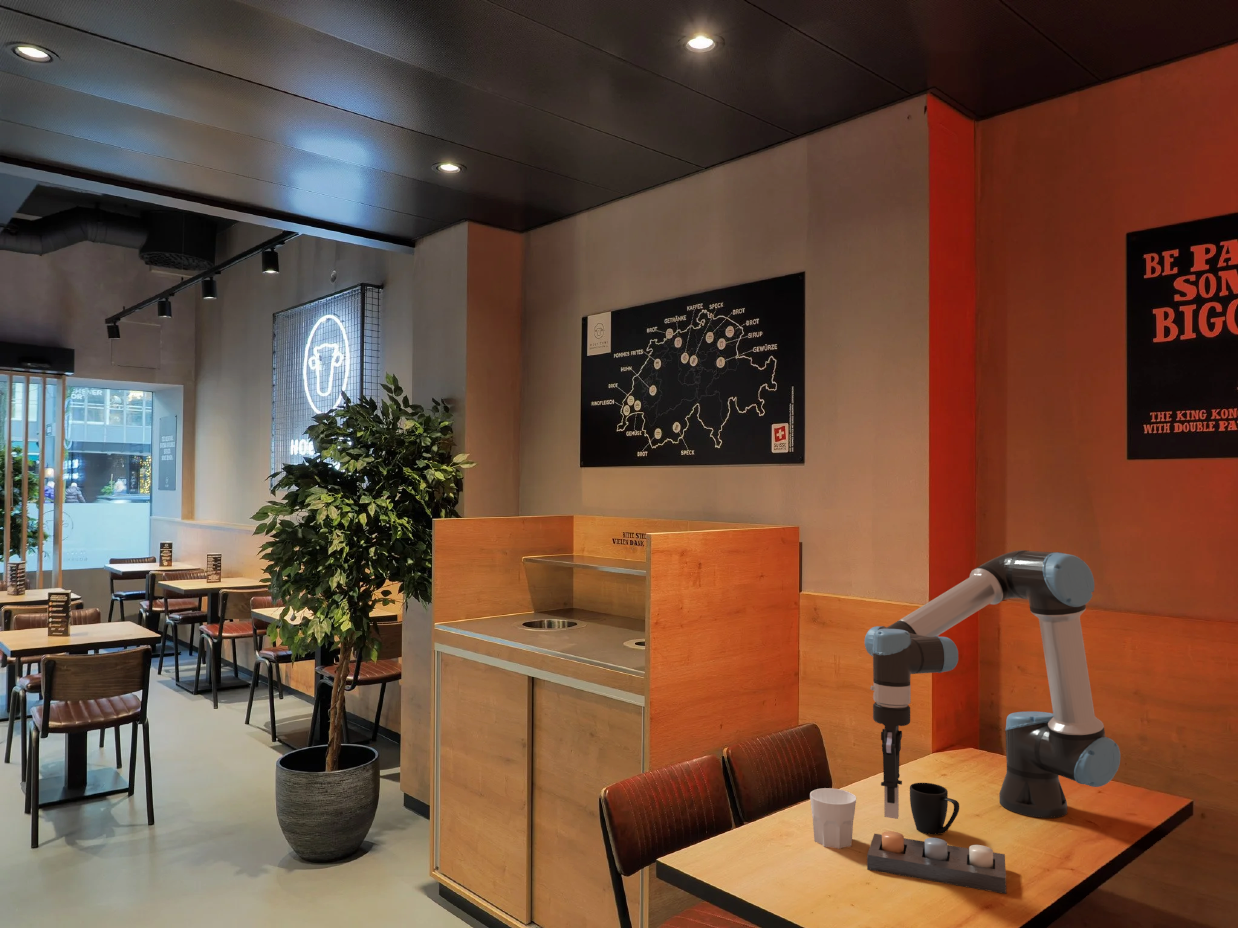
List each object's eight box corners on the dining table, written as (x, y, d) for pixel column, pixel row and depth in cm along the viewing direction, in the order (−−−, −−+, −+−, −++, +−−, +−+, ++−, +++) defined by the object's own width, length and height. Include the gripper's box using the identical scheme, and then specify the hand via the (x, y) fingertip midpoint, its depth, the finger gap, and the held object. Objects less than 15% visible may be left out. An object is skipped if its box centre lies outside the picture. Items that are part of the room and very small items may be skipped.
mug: (944, 845, 185) (943, 802, 185) (902, 826, 195) (902, 785, 196) (969, 838, 189) (969, 795, 189) (927, 820, 199) (926, 780, 200)
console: (1005, 868, 173) (1004, 853, 173) (1006, 893, 162) (1006, 877, 163) (874, 847, 184) (874, 833, 184) (867, 869, 173) (867, 854, 173)
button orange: (904, 850, 178) (904, 833, 178) (902, 858, 174) (902, 840, 174) (883, 846, 179) (883, 829, 180) (880, 854, 175) (880, 837, 176)
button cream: (993, 864, 171) (992, 846, 171) (993, 873, 167) (993, 855, 167) (969, 860, 173) (969, 843, 173) (969, 869, 169) (969, 851, 169)
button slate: (948, 857, 174) (947, 839, 174) (947, 865, 170) (946, 847, 170) (925, 853, 176) (925, 836, 176) (924, 861, 172) (923, 844, 172)
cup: (857, 835, 190) (857, 791, 191) (855, 852, 181) (854, 806, 181) (812, 829, 194) (812, 786, 194) (807, 846, 184) (807, 800, 185)
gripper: (876, 695, 185) (876, 803, 184) (869, 708, 173) (869, 824, 172) (912, 698, 182) (912, 809, 181) (907, 712, 170) (907, 830, 169)
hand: (891, 816), depth 177 cm, fingers closed
